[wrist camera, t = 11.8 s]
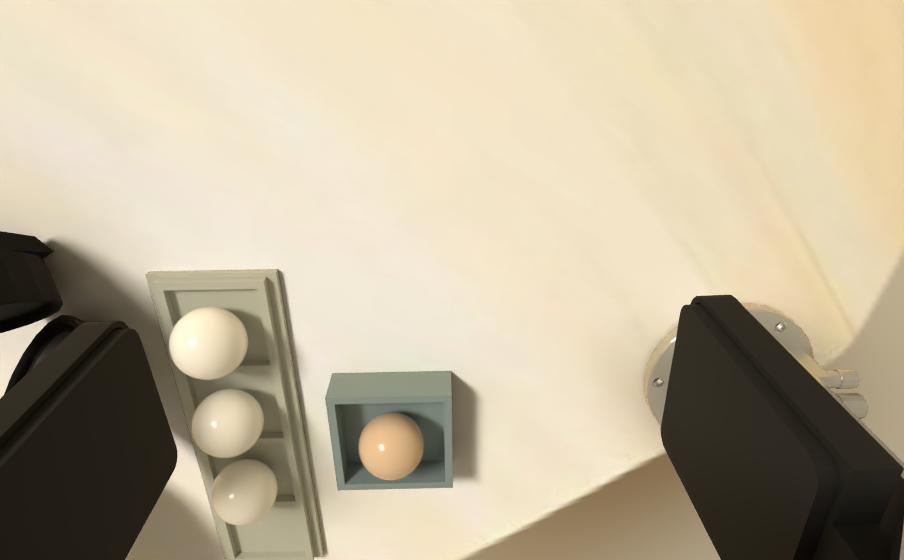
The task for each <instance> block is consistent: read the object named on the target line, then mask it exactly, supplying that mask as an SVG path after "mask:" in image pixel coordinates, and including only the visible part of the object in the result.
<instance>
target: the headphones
mask: <svg viewBox="0 0 904 560" xmlns="http://www.w3.org/2000/svg"><path fill="white" fill-rule="evenodd" d="M53 252H54V251H52V250H51V249H50V248H49V247H47V246H46V245H45V244H44V243H42V242H41V241H40V240H38V239H37V238H36V237H34V236H28V235H21V234H15V233H8V232H1V231H0V333H3V332H6V331H10V330H13V329H16V328H19V327H23V326H26V325H29V324H32V323H34V322H37V321H39V320H42V319H44V318H47V317H49V316H51V315H52V314H54V313H56V312H58V311H59V310H60V309H61V307H62V306H63V301H62V299H61V297H60V295H59V293H58V291H57V288H56V286H55V284H54V282H53V280H52V278H51V276H50V273H49V271H48V269H47V267H46V265H45V263H44V261H43V260H42V259H43V258H44V257H46V256H48V255H49V254H51V253H53ZM83 323H86V322H84V321H82V320H80V319H78V318H76V317H74V316H69V315H61V316H59V317H57V318H55V319H54V320H52V321H50V322H49V323H48V324H47V325H46V326H45V327H44V328H43V329H42V330H41V331H40V332H39V333H38V334H37V335H36V336H35V338H34V339H33V340H32V342H31V343H30V345H29V346H28V347H27V349H26V350H25V352H24V353H23V355H22V357H21V359H20V361H19V363H18V364H17V366H16V368H15V370H14V372H13V374H12V376H11V379H10V381H9V384H8V386H7V389H6V391H5V394H6V393H7V392H8V391H9V390H10V389H11V388H12V387H14V386H15V385H16V384H17V383H18V382H19V381H20V380H21V379H22V378H23V377H24V376H25V375H26V374H28V373H29V372H30V371H31V370H32V369H33V368H34V367H35V366H36V365H37V364H38V363H39V362H40V361H42V360H43V359H44V358H45V357H46V356H47V355H48V354H49V353H50V352H51V351H52V350H53V349H54V348H56V347H57V346H58V345H59V344H60V343H61V342H62V341H63V340H64V339H65V338H66V337H67V336H68V335H70V334H71V333H72V332H73V331H74V330H75V329H76V328H77V327H78V326H79V325H81V324H83ZM5 394H4V395H5Z"/></svg>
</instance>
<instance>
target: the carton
mask: <svg viewBox="0 0 904 560" xmlns="http://www.w3.org/2000/svg"><path fill="white" fill-rule="evenodd" d="M146 278H147V282H148V285H149V289H150V293H151V296H152V300H153V303H154V307H155V311H156V314H157V318H158V321H159V325H160V328H161V332H162V336H163V339H164V343H165V346H166V350H167V353H168V357H169V361H170V364H171V368H172V371H173V375H174V378H175V382H176V386H177V389H178V393H179V396H180V400H181V403H182V407H183V411H184V414H185V418H186V421H187V425H188V429H189V432H190V436H191V439H192V443H193V446H194V450H195V454H196V457H197V461H198V464H199V468H200V471H201V475H202V479H203V482H204V486H205V489H206V493H207V496H208V500H209V504H210V507H211V511H212V514H213V518H214V521H215V525H216V529H217V532H218V536H219V539H220V543H221V546H222V550H223V554H224V557H225V559H228V560H314V557H323V553H324V550H323V544H322V538H321V532H320V526H319V520H318V514H317V508H316V501H315V495H314V489H313V483H312V477H311V471H310V465H309V458H308V452H307V446H306V440H305V434H304V428H303V422H302V416H301V409H300V403H299V397H298V391H297V385H296V379H295V373H294V367H293V360H292V354H291V348H290V342H289V336H288V330H287V324H286V318H285V311H284V305H283V299H282V293H281V287H280V281H279V275H278V269H268V270H213V271H157V272H148V273H147V274H146ZM202 307H218V308H222V309H225V310H228V311H230V312H231V313H233V314H234V315H235V316H237V317H238V318H239V319H240V320H241V322H242V323H243V325H244V327H245V329H246V331H247V335H248V348H247V352H246V355H245V357H244V359H243V361H242V362H241V364H240V365H239V366H238V367H237V368H236V369H235V370H234V371H233V372H231V373H229V374H228V375H226V376H224V377H221V378H218V379H213V380H201V379H196V378H193V377H190V376H188V375H186V374H185V373H183V372H182V371H181V370H180V369H179V368H178V367H177V366H176V365H175V363H174V362H173V360H172V358H171V355H170V351H169V339H170V335H171V332H172V330H173V328H174V326H175V325H176V323H177V322H178V321H179V320H180V319H181V318H182V317H183V316H184V315H186V314H187V313H189V312H191V311H193V310H195V309H198V308H202ZM223 389H239V390H242V391H245V392H247V393H249V394H251V395H252V396H253V397H254V398H255V399H256V400H257V401H258V402H259V404H260V406H261V408H262V411H263V415H264V426H263V430H262V433H261V435H260V437H259V439H258V440H257V442H256V443H255V444H254V445H253V446H252V447H251V448H250V449H249V450H248V451H246V452H244V453H243V454H241V455H238V456H235V457H231V458H218V457H214V456H211V455H209V454H207V453H205V452H204V451H203V450H202V449H201V448H200V447H199V446H198V445H197V444H196V442H195V440H194V437H193V434H192V418H193V415H194V412H195V410H196V409H197V407H198V405H199V404H200V403H201V402H202V401H203V400H204V399H205V398H206V397H207V396H209V395H210V394H212V393H214V392H216V391H219V390H223ZM241 459H256V460H259V461H261V462H263V463H265V464H266V465H267V466H269V467H270V468H271V470H272V471H273V473H274V474H275V477H276V480H277V486H278V489H277V496H276V500H275V502H274V505H273V506H272V508H271V509H270V511H269V512H268V513H267V514H266V515H265V516H264V517H263V518H261V519H260V520H258V521H257V522H255V523H252V524H249V525H242V526H237V525H232V524H229V523H227V522H225V521H223V520H222V519H221V518H220V517H219V516H218V515H217V514H216V513H215V511H214V509H213V506H212V502H211V490H212V486H213V483H214V481H215V479H216V477H217V475H218V474H219V473H220V472H221V471H222V470H223V469H224V468H225V467H226V466H227V465H229V464H231V463H232V462H235V461H237V460H241Z"/></svg>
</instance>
